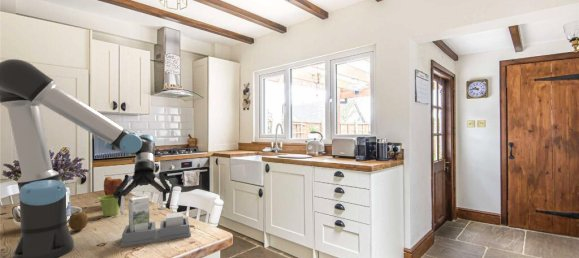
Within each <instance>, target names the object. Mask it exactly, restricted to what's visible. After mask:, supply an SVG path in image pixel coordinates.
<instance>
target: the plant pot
mask: <svg viewBox="0 0 579 258" xmlns="http://www.w3.org/2000/svg"><path fill="white" fill-rule="evenodd" d="M97 199H98V200H99V203H100V205H101V206H100V207H101V211H102V215H103V217H106V218H107V217H113V216H117V215H118V214H119V213H120V206H118V198H116V199H115V198H114V195H107V196H106V195H103V196H100V197H98V198H97Z"/></svg>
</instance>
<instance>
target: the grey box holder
mask: <svg viewBox="0 0 579 258" xmlns="http://www.w3.org/2000/svg"><path fill="white" fill-rule="evenodd" d="M149 222H150V221H149ZM188 237H192V232H191V227H190V222H189V218H188V217H184V212H183V211H180V212H173V213H166V214H165V220H160V227H159V228H156V221H151V222H150V230H144V231H137V232H130V233H129V224H127V225H125V228H124V229H123V232H122V235H121V241H120V245H119V246H120V248H125V247H131V246H138V245H144V244H150V243H151V244H152V243H156V242H157V243H158V242H164V241H170V240H176V239H182V238H188Z"/></svg>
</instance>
